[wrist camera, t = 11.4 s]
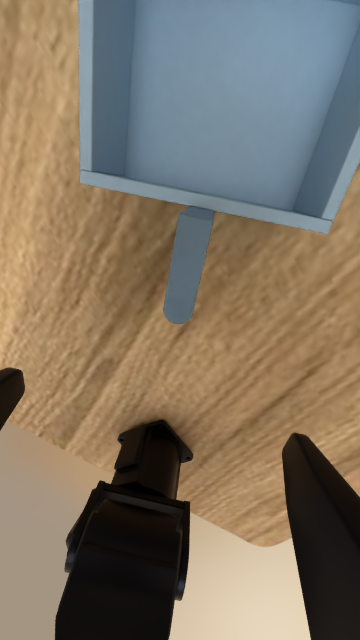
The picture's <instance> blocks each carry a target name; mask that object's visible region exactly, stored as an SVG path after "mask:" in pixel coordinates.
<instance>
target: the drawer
mask: <svg viewBox="0 0 360 640" xmlns="http://www.w3.org/2000/svg"><path fill="white" fill-rule="evenodd" d="M78 8H79V121H80V169H81V170H80V183H81V184H85V185H90V186H95V187H100V188H104V189H109V190H114V191H119V192H124V193H129V194H134V195H138V196H143V197H148V198H153V199H158V200H163V201H168V202H173V203H177V204H182V205H187V206H191V207H189V208H188V209H186V210H185V211H183V212H182V213H180V214H179V216H178V222H177V228H176V234H175V240H174V246H173V253H172V259H171V265H170V271H169V277H168V283H167V289H166V295H165V301H164V308H163V312H164V315H165V317H166V318H167V319H168V320H169V321H170V322H172V323H174V324H183V323H186V322H187V321H189V320H190V318H191V317H192V314H193V310H194V305H195V301H196V297H197V292H198V288H199V283H200V279H201V275H202V270H203V266H204V261H205V257H206V253H207V248H208V244H209V239H210V235H211V231H212V226H213V220H214V211H216V212H221V213H226V214H231V215H236V216H241V217H245V218H250V219H255V220H260V221H265V222H270V223H275V224H280V225H284V226H289V227H294V228H299V229H304V230H309V231H314V232H318V233H323V234H328V232H329V230H330V228H331V225H332V223H333V221H332V220H334V218H335V216H336V214H337V212H338V209H339V207H340V205H341V203H342V200H343V198H344V196H345V193H346V191H347V189H348V187H349V184H350V182H351V180H352V177H353V175H354V173H355V171H356V168H357V166H358V164H359V162H360V0H78Z"/></svg>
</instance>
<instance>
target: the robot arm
mask: <svg viewBox="0 0 360 640" xmlns="http://www.w3.org/2000/svg"><path fill="white" fill-rule="evenodd" d="M24 391H25V384H24V378H23V372H22V371H21V370H19V369H15V368H5V369H2V370H0V430H1V429H2V427H3V426H4V424H5V422H6V421H7V419H8V418H9V416H10V415H11V413H12V412H13V410H14V408H15V407H16V405H17V404H18V402H19V401H20V399H21V398H22V396H23V394H24ZM118 441H119V442H120V443H121V445H122V447H121V450H120V452H119V455H118V458H117V461H116V463H115V467H114V469H115V470H116V472H115V474H114V477H113V480H112V483H111V484H108V483H105V482H104V481H99V483H98V485H97V487H96V489H93V490H92V492H91V494H90V497H89V499H88V502H87V504H86V506H85V508H84V510H83V512H82V514H81V515H80V517H79V518H78V520H77V521H76V523H75V524H74V526H73V528H72V529H71V531H70V532H69V534H68V537H67V539H66V545H67V548H68V552H67V559H66V563H65V572H67V573H69V577H68V579H67V582H66V586H65V589H64V592H63V595H62V598H61V601H60V604H59V608H58V612H57V615H56V620H55V621H56V623H55V640H168V639H169V636H170V629H171V623H172V616H173V608H174V601H175V600H179V601H181V600H182V597H183V593H184V589H185V583H186V577H187V569H188V559H189V533H190V502H188V501H179V500H176V498H177V490H178V482H179V474H180V466H181V463H184V462H188V461H191V460H192V459H193V454H192V453H191V452H190V450H189V449H188V448H187V447H186V446H185V444H184V443H183V442H182V441H181V440H180V438H179V437H178V436H177V435H176V434H175V432H174V431H173V430H172V429H171V428H170V426H169V425H168V424H167V423H166V422H165V421H163V420H160V421H157V422H154V423H151V424H149V425H146V426H143V427H140V428H137V429H134V430H131V431H129V432H126V433H123V434H120V435H119V437H118ZM282 460H283V472H284V483H285V495H286V505H287V512H288V518H289V523H290V529H291V534H292V539H293V545H294V550H295V556H296V561H297V566H298V572H299V577H300V583H301V588H302V593H303V598H304V604H305V610H306V614H307V620H308V626H309V631H310V637H311V640H360V497H359V496H358V495H357V493H356V492H355V491H354V490H353V489H352V488H351V486H350V485H349V484H348V483H347V482H346V481H345V479H344V478H343V477H342V476H341V475H340V474H339V472H338V471H337V470H336V469H335V468H334V467H333V465H332V464H331V463H330V462H329V461H328V460H327V458H326V457H325V456H324V455H323V454H322V453H321V451H320V450H319V449H318V448H317V447H316V446H315V444H314V443H313V442H312V441H311V440H310V438H309V437H308V436H306V435H303V434H299V433H292V434H291V436H290V437H289V439H288V441H287V442H286V444H285V446H284V448H283V451H282Z"/></svg>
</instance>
